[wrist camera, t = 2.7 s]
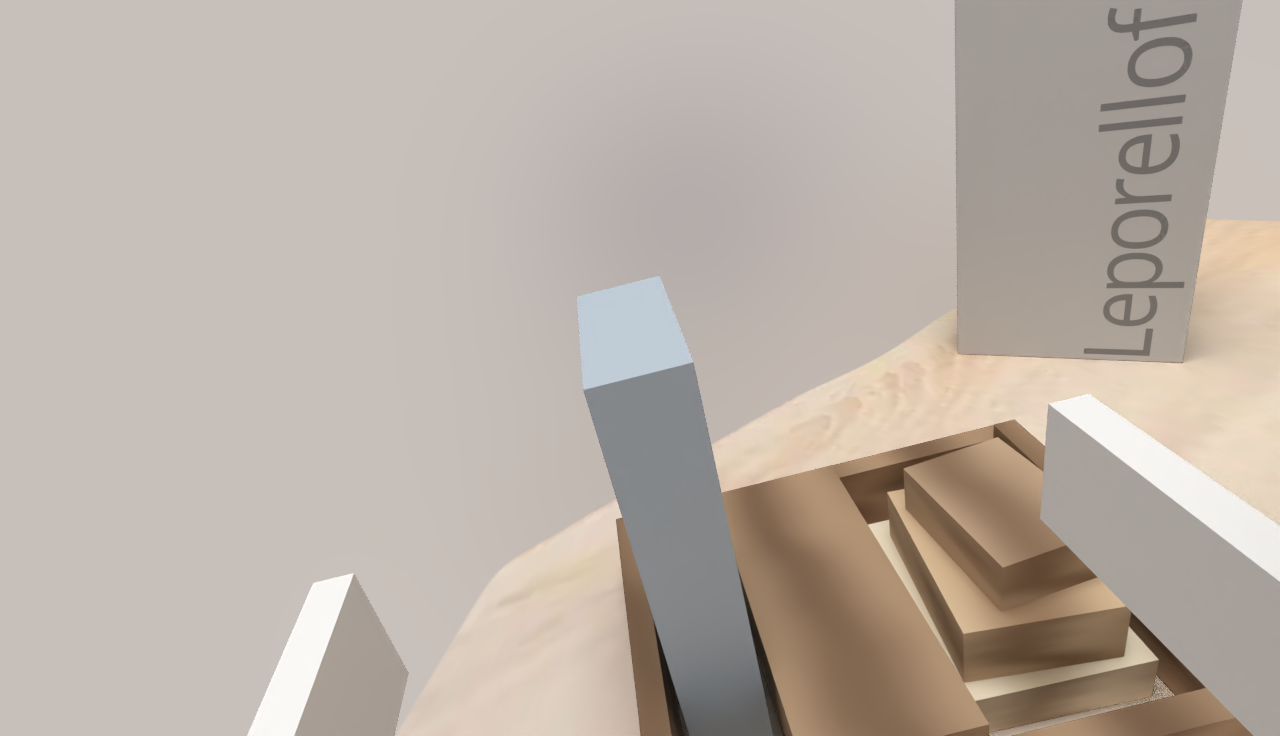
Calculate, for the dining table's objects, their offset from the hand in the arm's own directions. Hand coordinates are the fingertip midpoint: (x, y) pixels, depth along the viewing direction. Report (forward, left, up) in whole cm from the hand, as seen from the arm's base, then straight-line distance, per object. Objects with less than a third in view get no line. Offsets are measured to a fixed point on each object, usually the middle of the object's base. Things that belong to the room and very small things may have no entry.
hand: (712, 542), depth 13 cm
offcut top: (-13, -13, -15) cm, 24 cm away
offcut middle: (-13, -13, -19) cm, 26 cm away
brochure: (-31, -35, -21) cm, 51 cm away
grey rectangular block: (+1, -13, -21) cm, 25 cm away
